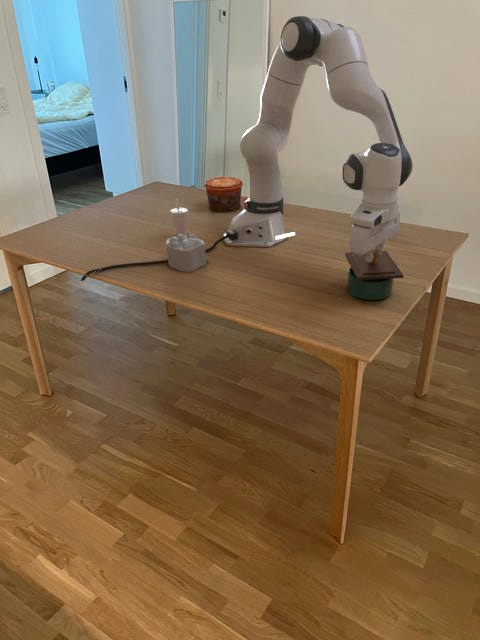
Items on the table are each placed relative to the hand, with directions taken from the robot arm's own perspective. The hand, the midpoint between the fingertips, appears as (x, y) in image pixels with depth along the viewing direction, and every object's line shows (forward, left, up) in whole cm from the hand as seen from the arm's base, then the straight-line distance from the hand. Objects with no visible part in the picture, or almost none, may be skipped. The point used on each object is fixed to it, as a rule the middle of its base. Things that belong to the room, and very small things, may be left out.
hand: (373, 259), depth 135 cm
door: (0, 0, -2) cm, 2 cm away
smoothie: (-57, +49, -10) cm, 76 cm away
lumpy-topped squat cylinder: (-54, +25, -10) cm, 60 cm away
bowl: (0, 0, -10) cm, 10 cm away
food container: (-41, +79, -10) cm, 90 cm away
